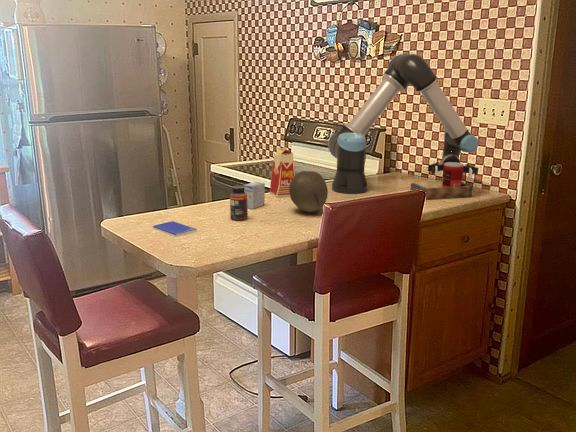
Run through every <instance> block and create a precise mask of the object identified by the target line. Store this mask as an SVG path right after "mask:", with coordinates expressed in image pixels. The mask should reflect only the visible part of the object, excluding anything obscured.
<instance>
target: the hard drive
mask: <svg viewBox="0 0 576 432" xmlns="http://www.w3.org/2000/svg"><path fill="white" fill-rule="evenodd" d="M152 229H154V230H156V231H159V232H161V233H164V234H167V235H170V236H172V237H175V238H177V237H181V236H185V235H189V234H193V233H197V232H198V229H197V228H194V227H192V226H189V225H185V224H183V223H179V222H176V221H173V220H172V221H167V222H162V223H159V224H154V225H153V226H152Z"/></svg>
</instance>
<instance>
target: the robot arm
mask: <svg viewBox="0 0 576 432" xmlns="http://www.w3.org/2000/svg"><path fill="white" fill-rule="evenodd" d="M382 78H383V79H382V81H380V84H379V85H378V86H377V87H376V89H374V91H373V92H372V93H371V95H370V96H369V97H368V99H367V100H366V101H365V102H364V104H363V105H362V106H361V107H360V109H359V110H358V111H357V112H356V113H355V115H354V116H353V117H352V119H351V120H350V122H348V123H344V124H343V125H342V126H341V127H340V128H339V130H338V131H336V132H334V133H332V134H331V136H330V137H329V139H328V140H327V141H328V142H327V148H328V151H329V152H330V154H331V155H332V157H334V158H335V159H336V171H335V175H334V178H333V181H332V183H331V190H332V191H334V192H337V193H340V194H341V193H342V194H362V193H363V194H364V193H366V192H368V186H369V185H368V181H367V178H366V174H365V167H366V166H365V164H366V149H367V139H366V134H367V133H368V131H369V130H370V129H371V127H372V126H373V125H374V124H375V123H376V121H377V120H378V119H379V117H380V116H381V115H382V114H383V113H384V111H385V110H386V108H387V107H388V106H389V105H390V103H391V102H392V101H393V100H394V99H395V98H396V96H398V94H399V93H400V92H405V90H406V89H407V88H408V86H409V85H411V87H413V89H415V91H416V92H417V93H420V95H422V97H423V99H424V100H425V101H426V103H427V105H428V106H429V107H430V109H431V110H432V112H433V113H434V115H435V116H436V117H437V118H438V121H439V122H440V123H441V125H442V126H443V129H445V130H444V136H443V139H444V140H443V150H442V157H441V162H442V163H440V162H438V161H435V163H431V164H428V166H427V172H431V173H432V174H434V175H435V176H438V172H443V170H444V163H446V162H457V163H461V160H460V159H459V155H460V156H461V152H463V153H474V152H475V151H476V150H477V149H478V147H479V139H478V138H477V136H475V135H474V134H472V133H471V132H470V130H469V129H468V128H467V126H466V125H465V123H464V122H463V120H462V118H461V117H460V116H459V114H458V112H457V111H456V110H455V108H454V107H453V105H452V103H451V102H450V100H449V99H448V97H447V96H446V94H445V93H444V91H443V90H442V88H441V87H440V85H439V84H438V82H437V78H438V77H437V75H436V74H435V72H434V71H433V69H432V68H431V67H430V65H429V63H428V62H427V61H426V60H425V59H424V58H423V57H422V56H421V55H419V54H415V53H410V54H409V53H400V54H397V55H395V56H394V57H392V58H391V59H390V61H388V65H387V68H386V70H385V71H384V73H383V74H382ZM451 151H452V152H451ZM463 173H465V174H468V176H469V178H472V177H473V175H479V167H476V166H473V165H472V164H471V165H470V163H469V164H468V163H465V164H464V167H463Z"/></svg>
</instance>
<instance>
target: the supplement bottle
mask: <svg viewBox="0 0 576 432" xmlns="http://www.w3.org/2000/svg"><path fill="white" fill-rule="evenodd" d="M248 210H249V209H248V208H247V193H245V192H244V185H233V186H232V191H231V193H230V194H229V212H230V213H229V214H230V216H229V217H230V219H231V220H232V221H237V222H238V221H245V220H247V219H248V217H249V216H248V213H249V212H248Z"/></svg>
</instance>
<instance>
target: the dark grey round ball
mask: <svg viewBox="0 0 576 432" xmlns="http://www.w3.org/2000/svg"><path fill="white" fill-rule="evenodd" d="M328 190H329V188H328V185H327V182H326V180H325V178H323V176H322V175H321V174H320V173H318V172H317V171H308V170H302V171H300V172H297V173H296V174H295V176H294V177H293V178H292V180H291V182H290V185H289V193H290V197H289V198H290V199H291V201H292V203H293V204H294V205H295V206H296V207H297V209H299V210H301V211H303V212H306V213H309V214H314V213H316V212H318V211H320V210H322V209H323V207H324V206H325V205H324V203H325V204H326V203H327V199H328V195H329V194H328V193H329V192H328ZM323 205H324V206H323Z"/></svg>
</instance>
